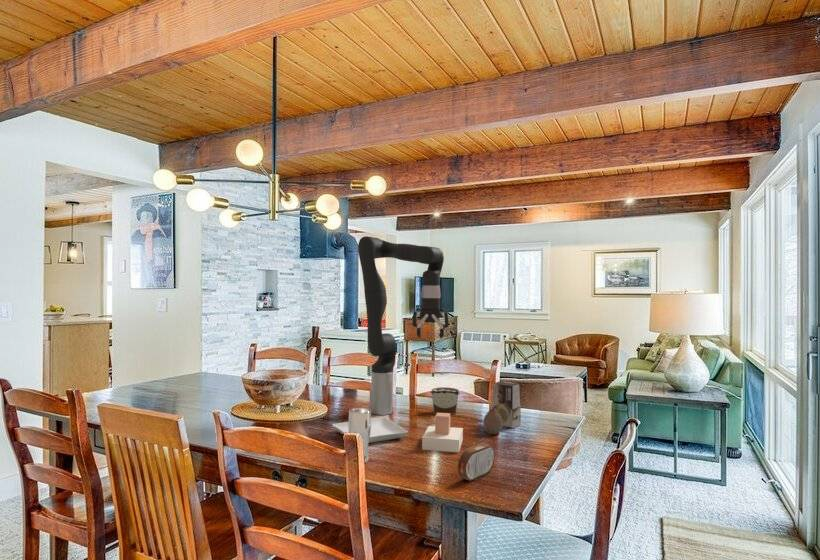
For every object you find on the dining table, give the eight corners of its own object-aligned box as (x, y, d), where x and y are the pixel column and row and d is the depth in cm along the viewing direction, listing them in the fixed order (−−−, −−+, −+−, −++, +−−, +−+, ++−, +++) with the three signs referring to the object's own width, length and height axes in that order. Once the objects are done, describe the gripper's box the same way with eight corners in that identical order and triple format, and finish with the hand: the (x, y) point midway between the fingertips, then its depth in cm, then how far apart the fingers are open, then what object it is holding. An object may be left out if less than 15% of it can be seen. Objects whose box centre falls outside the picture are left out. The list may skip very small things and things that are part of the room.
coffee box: (521, 425, 191) (521, 383, 192) (512, 428, 187) (513, 385, 187) (501, 420, 198) (501, 380, 198) (492, 423, 193) (492, 382, 193)
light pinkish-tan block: (435, 433, 164) (435, 415, 164) (437, 430, 169) (437, 412, 169) (448, 434, 163) (448, 416, 163) (450, 431, 168) (450, 413, 168)
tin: (487, 468, 144) (487, 439, 145) (496, 471, 142) (497, 441, 142) (456, 482, 133) (456, 451, 134) (465, 485, 131) (466, 453, 131)
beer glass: (348, 456, 153) (348, 407, 153) (370, 455, 154) (371, 407, 154) (347, 464, 146) (348, 413, 146) (370, 463, 147) (371, 413, 147)
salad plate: (352, 449, 161) (352, 438, 161) (331, 432, 180) (331, 422, 180) (409, 440, 171) (409, 430, 171) (383, 425, 189) (383, 416, 190)
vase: (503, 431, 183) (503, 407, 183) (500, 436, 176) (501, 412, 176) (485, 429, 185) (485, 406, 185) (481, 434, 178) (481, 410, 178)
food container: (459, 410, 213) (459, 387, 214) (459, 414, 207) (459, 390, 208) (431, 409, 215) (431, 386, 215) (430, 413, 209) (430, 389, 209)
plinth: (422, 449, 160) (422, 437, 160) (428, 437, 174) (428, 425, 174) (458, 452, 158) (459, 440, 158) (462, 439, 172) (462, 428, 172)
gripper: (411, 296, 193) (410, 338, 193) (447, 297, 190) (447, 339, 190) (415, 296, 200) (414, 336, 200) (449, 297, 197) (449, 337, 197)
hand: (430, 338), depth 195 cm, fingers open, 8 cm apart
